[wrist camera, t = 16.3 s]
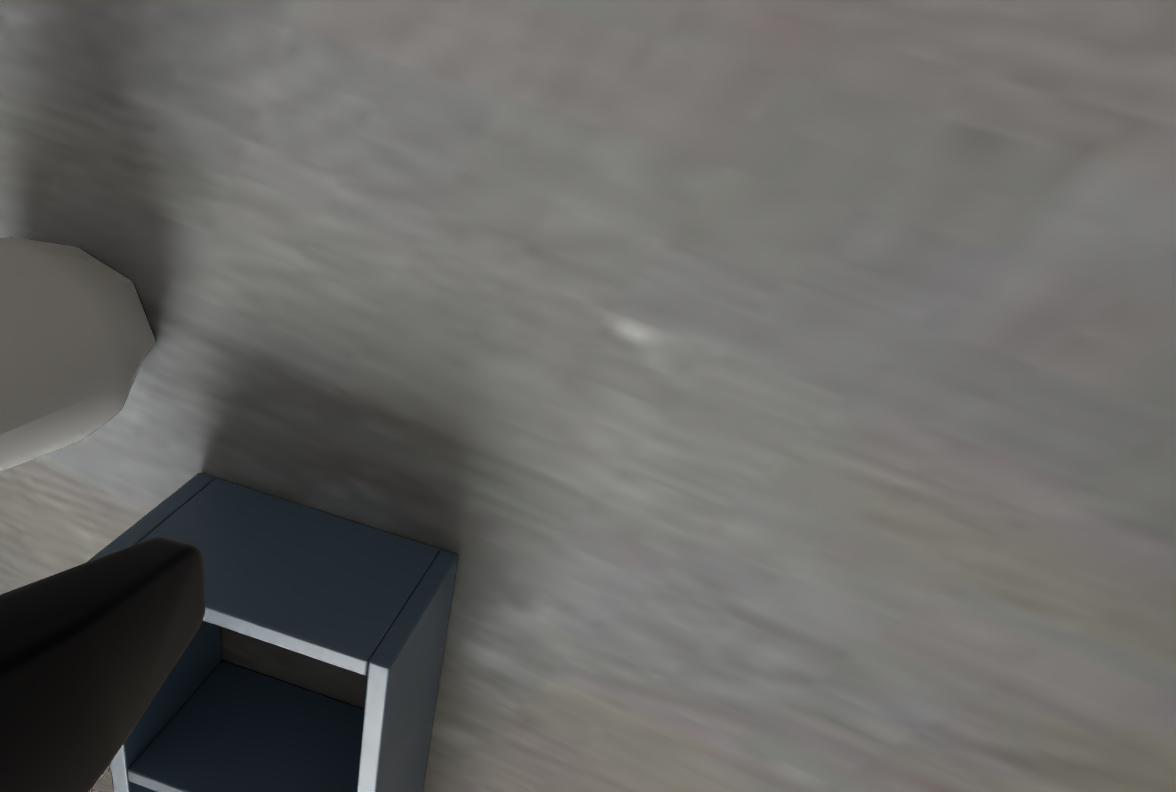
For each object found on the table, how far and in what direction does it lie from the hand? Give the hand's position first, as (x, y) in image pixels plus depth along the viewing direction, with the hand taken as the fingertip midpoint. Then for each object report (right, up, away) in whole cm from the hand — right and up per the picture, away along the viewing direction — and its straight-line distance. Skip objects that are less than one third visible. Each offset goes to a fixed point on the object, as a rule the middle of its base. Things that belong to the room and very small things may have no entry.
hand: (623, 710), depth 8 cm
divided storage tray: (-10, -8, +21) cm, 25 cm away
